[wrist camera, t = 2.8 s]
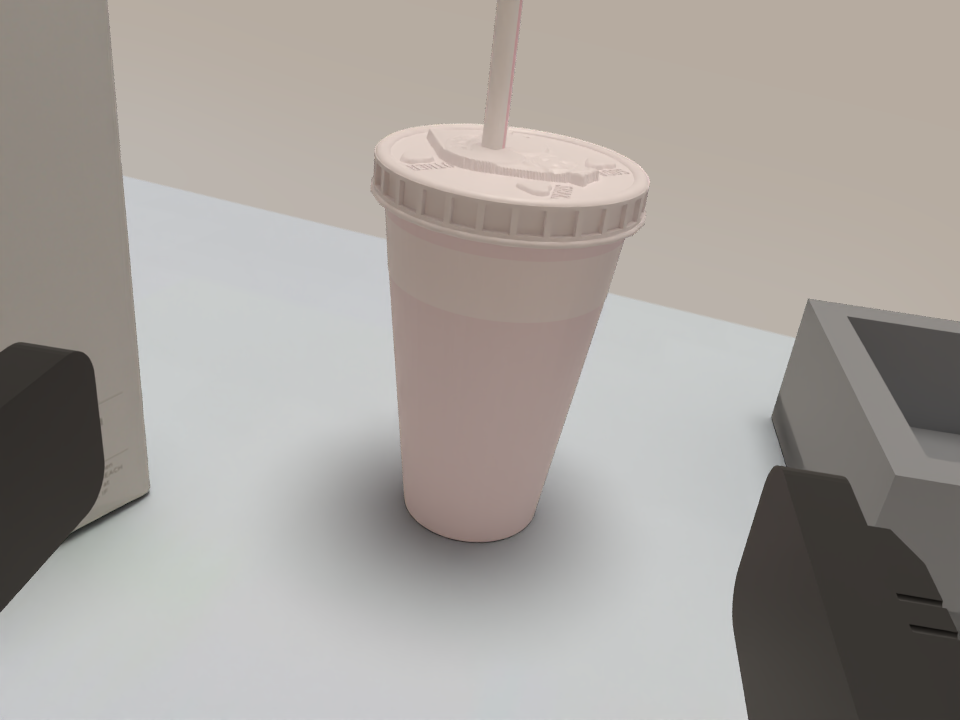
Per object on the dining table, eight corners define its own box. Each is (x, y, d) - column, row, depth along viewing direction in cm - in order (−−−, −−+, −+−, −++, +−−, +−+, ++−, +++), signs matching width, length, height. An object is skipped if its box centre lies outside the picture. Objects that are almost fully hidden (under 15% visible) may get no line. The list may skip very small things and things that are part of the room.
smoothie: (443, 412, 28) (492, -66, 22) (622, 492, 25) (740, -31, 19) (304, 505, 23) (314, -76, 17) (507, 617, 21) (614, -30, 14)
